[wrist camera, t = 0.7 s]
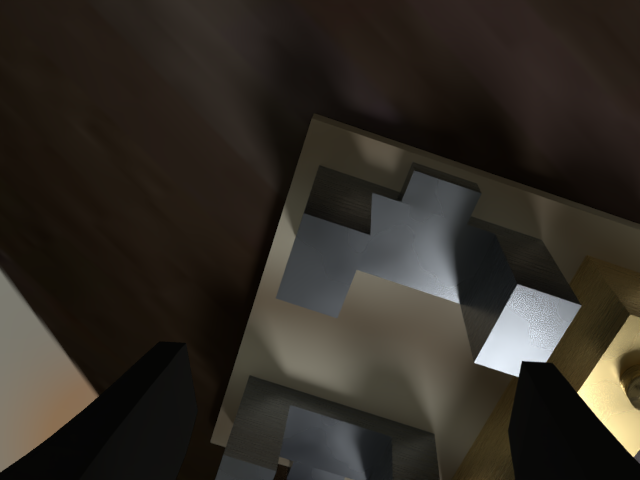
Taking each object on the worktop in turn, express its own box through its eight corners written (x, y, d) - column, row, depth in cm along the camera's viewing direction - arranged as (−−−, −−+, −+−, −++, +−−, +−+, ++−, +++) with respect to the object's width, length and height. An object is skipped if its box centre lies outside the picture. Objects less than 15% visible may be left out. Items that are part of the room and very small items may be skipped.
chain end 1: (505, 306, 22) (533, 381, 18) (295, 236, 21) (275, 298, 17) (557, 210, 20) (603, 271, 16) (329, 133, 20) (316, 175, 16)
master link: (505, 509, 26) (529, 614, 22) (444, 490, 26) (457, 592, 22) (662, 280, 21) (736, 361, 16) (586, 254, 21) (641, 329, 16)
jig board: (545, 532, 28) (549, 547, 27) (214, 429, 27) (210, 442, 26) (750, 261, 21) (763, 272, 20) (314, 113, 20) (311, 118, 19)
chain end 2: (399, 496, 27) (403, 590, 23) (227, 442, 26) (199, 528, 22) (434, 433, 25) (444, 523, 21) (249, 375, 24) (223, 454, 20)
